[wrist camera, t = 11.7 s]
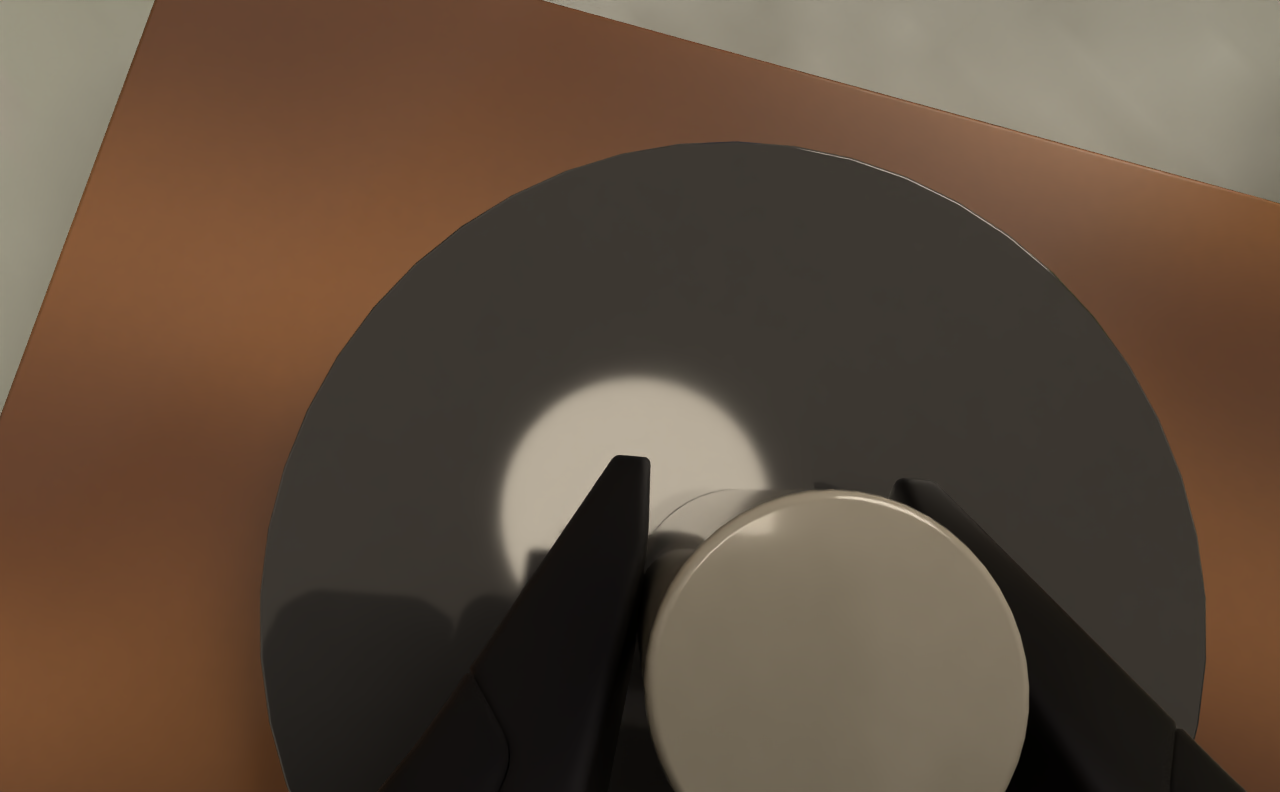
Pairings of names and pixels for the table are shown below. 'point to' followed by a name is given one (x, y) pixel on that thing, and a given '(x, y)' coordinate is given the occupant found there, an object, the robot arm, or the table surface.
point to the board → (409, 229)
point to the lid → (729, 479)
